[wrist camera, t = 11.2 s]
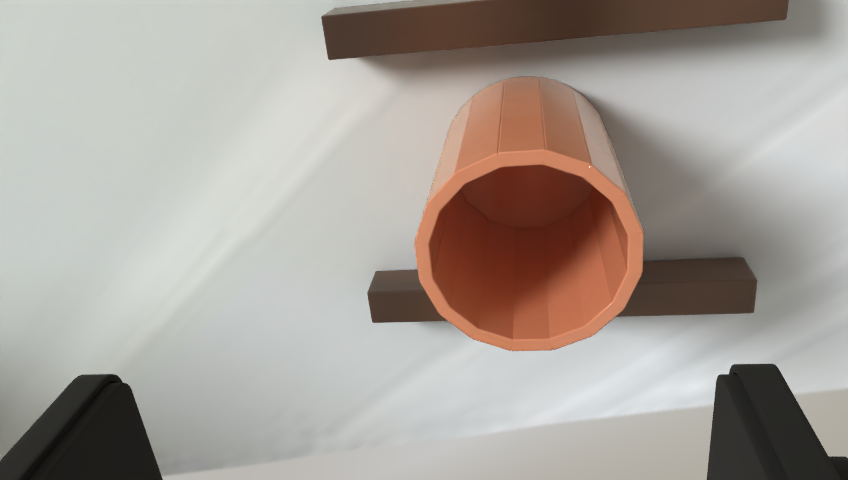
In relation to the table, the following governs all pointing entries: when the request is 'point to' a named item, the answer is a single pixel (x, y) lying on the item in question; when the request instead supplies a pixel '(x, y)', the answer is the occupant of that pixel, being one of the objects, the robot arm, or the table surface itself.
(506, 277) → the peach cup
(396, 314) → the guide rails
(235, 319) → the table surface
